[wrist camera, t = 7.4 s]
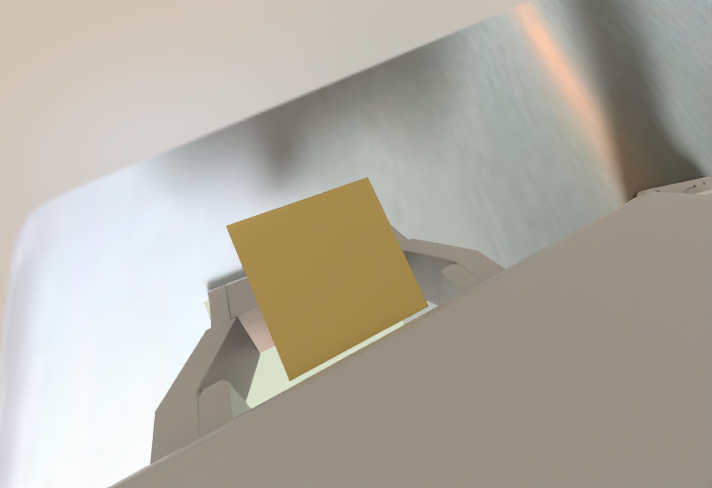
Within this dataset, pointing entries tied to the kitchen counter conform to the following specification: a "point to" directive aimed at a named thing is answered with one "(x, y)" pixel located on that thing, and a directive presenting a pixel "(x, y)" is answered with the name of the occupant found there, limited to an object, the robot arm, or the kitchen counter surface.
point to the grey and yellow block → (326, 274)
